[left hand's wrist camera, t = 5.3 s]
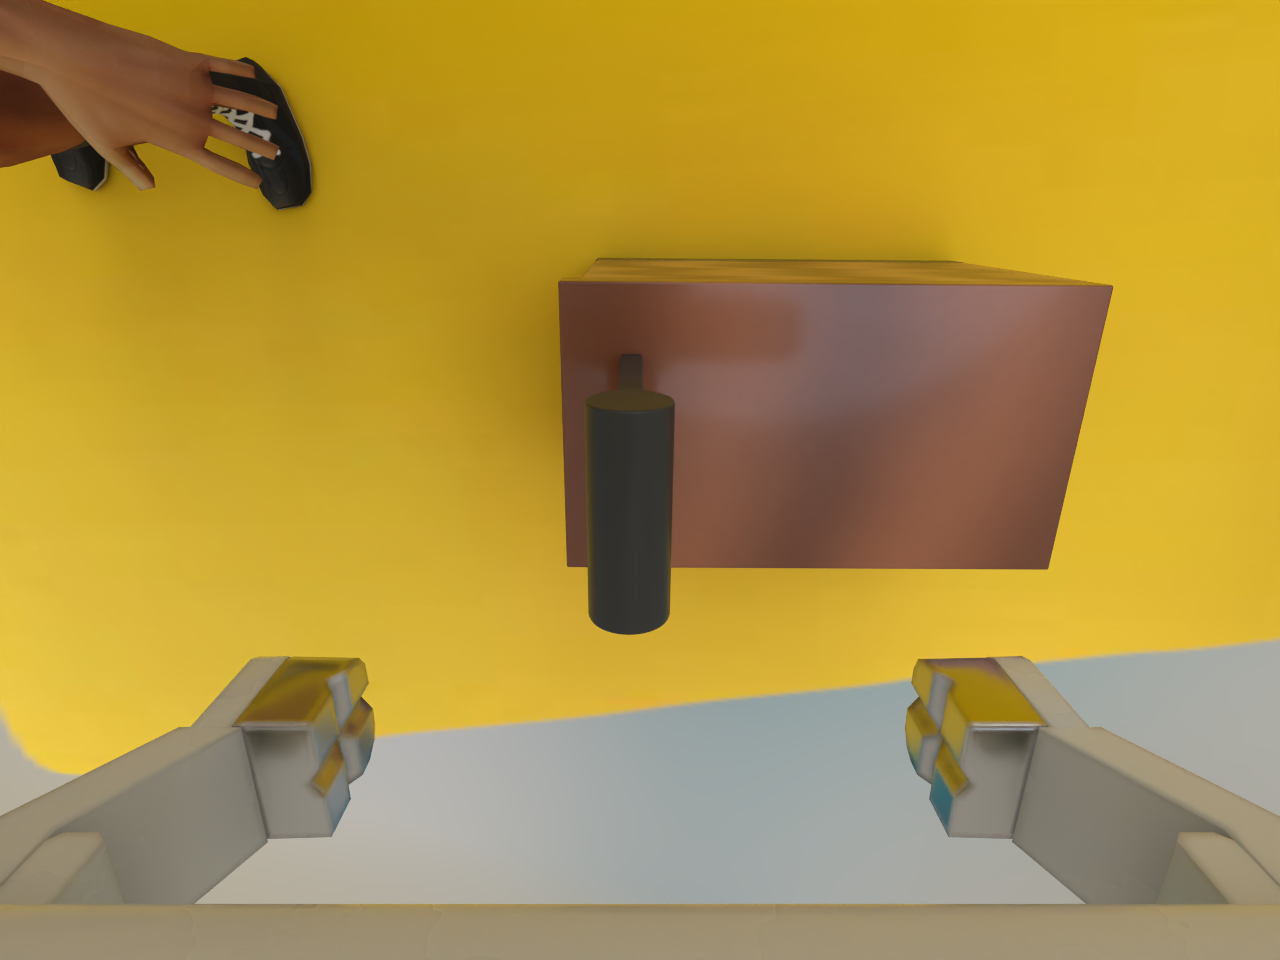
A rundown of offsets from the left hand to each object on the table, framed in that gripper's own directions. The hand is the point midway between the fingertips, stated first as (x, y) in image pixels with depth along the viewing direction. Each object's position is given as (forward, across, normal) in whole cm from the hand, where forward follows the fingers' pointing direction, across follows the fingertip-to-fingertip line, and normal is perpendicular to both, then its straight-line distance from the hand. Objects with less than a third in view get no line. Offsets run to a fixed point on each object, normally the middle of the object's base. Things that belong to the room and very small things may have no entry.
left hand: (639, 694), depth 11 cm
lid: (+16, -6, 0) cm, 17 cm away
